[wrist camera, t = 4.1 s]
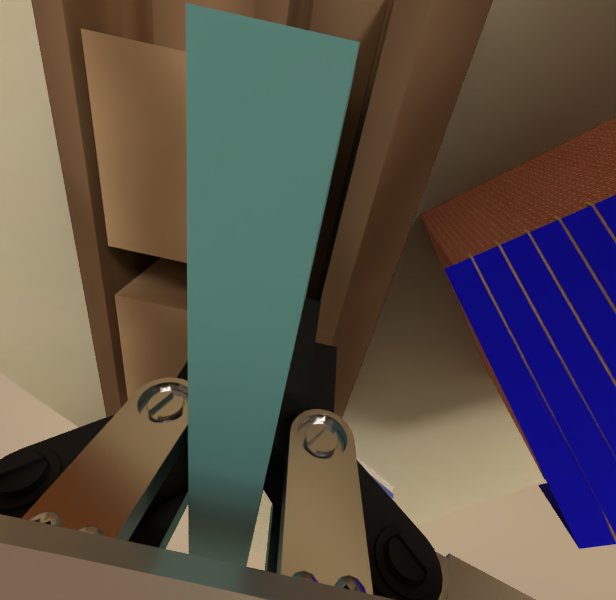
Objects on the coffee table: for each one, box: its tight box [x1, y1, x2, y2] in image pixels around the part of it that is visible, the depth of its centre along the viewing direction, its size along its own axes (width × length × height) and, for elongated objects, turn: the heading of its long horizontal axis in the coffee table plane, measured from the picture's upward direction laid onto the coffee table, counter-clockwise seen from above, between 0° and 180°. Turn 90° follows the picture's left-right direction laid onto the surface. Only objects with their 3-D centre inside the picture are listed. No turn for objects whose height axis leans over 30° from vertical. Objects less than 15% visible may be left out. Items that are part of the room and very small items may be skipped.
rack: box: [31, 0, 493, 418], centre depth 15 cm, size 15×21×6 cm
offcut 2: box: [115, 257, 188, 400], centre depth 16 cm, size 4×6×4 cm, turn 169°
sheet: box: [186, 3, 360, 567], centre depth 11 cm, size 1×14×11 cm, turn 169°
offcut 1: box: [81, 29, 187, 263], centre depth 12 cm, size 4×6×4 cm, turn 169°
